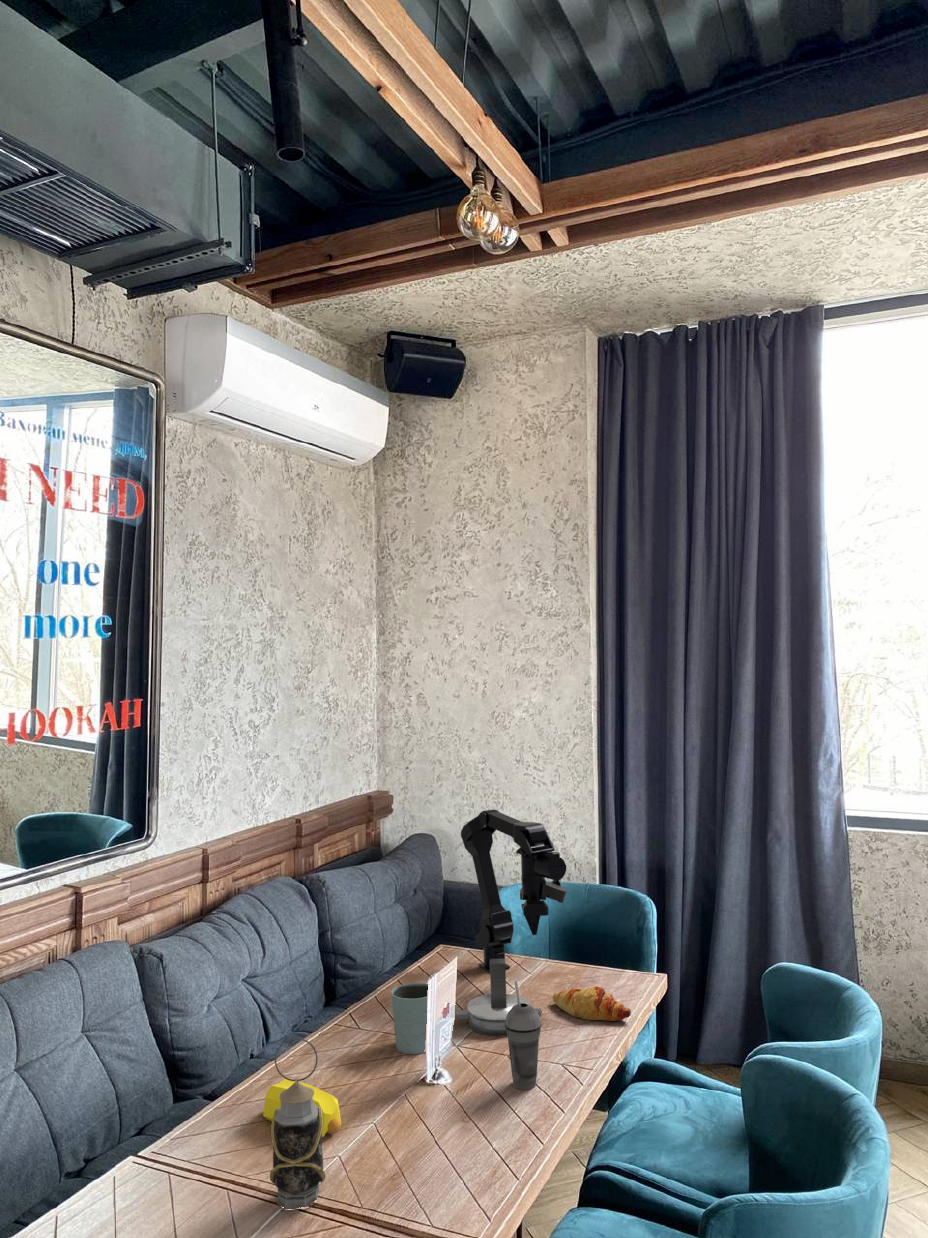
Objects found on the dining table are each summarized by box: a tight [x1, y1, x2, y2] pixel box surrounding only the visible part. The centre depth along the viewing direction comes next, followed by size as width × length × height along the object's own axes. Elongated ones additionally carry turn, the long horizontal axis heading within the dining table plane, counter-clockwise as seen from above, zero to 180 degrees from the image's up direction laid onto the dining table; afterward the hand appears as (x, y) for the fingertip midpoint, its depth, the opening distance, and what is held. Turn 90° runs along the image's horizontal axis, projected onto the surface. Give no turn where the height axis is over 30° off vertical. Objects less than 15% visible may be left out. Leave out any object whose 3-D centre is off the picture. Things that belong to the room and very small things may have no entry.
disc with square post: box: [466, 958, 531, 1021], centre depth 214 cm, size 15×15×11 cm
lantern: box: [269, 1037, 326, 1210], centre depth 146 cm, size 9×8×25 cm
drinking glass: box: [390, 982, 429, 1055], centre depth 202 cm, size 10×10×12 cm
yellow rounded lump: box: [262, 1078, 342, 1138], centre depth 170 cm, size 18×7×8 cm
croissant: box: [552, 984, 632, 1022], centre depth 218 cm, size 21×10×8 cm, turn 52°
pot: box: [455, 1008, 543, 1037], centre depth 213 cm, size 14×20×3 cm
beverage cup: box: [505, 980, 542, 1091], centre depth 183 cm, size 7×7×20 cm
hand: (534, 934), depth 237 cm, fingers closed
